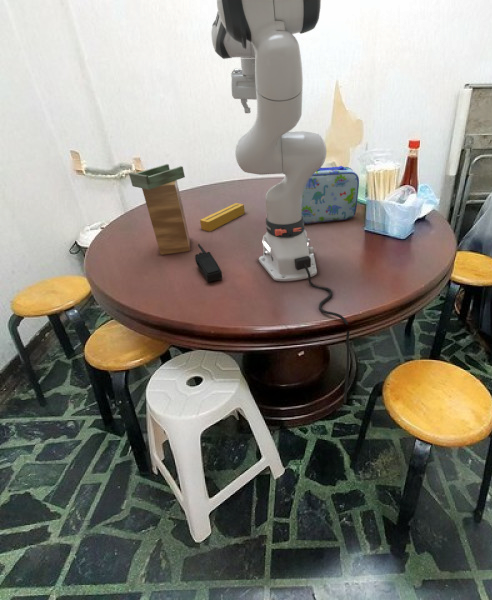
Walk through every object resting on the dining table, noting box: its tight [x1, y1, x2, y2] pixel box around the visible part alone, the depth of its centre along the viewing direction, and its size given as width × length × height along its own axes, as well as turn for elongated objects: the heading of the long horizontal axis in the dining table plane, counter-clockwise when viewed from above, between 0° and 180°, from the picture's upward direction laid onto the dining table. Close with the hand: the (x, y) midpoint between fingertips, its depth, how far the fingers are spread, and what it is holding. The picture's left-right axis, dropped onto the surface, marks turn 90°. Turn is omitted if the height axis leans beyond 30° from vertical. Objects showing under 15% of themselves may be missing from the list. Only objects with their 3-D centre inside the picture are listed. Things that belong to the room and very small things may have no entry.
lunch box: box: [302, 165, 360, 224], centre depth 140 cm, size 26×11×21 cm, turn 101°
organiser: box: [128, 163, 191, 256], centre depth 120 cm, size 15×14×28 cm
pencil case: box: [199, 202, 246, 232], centre depth 146 cm, size 22×4×4 cm, turn 149°
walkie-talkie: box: [194, 243, 223, 283], centre depth 112 cm, size 6×6×20 cm
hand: (257, 113), depth 128 cm, fingers open, 8 cm apart
